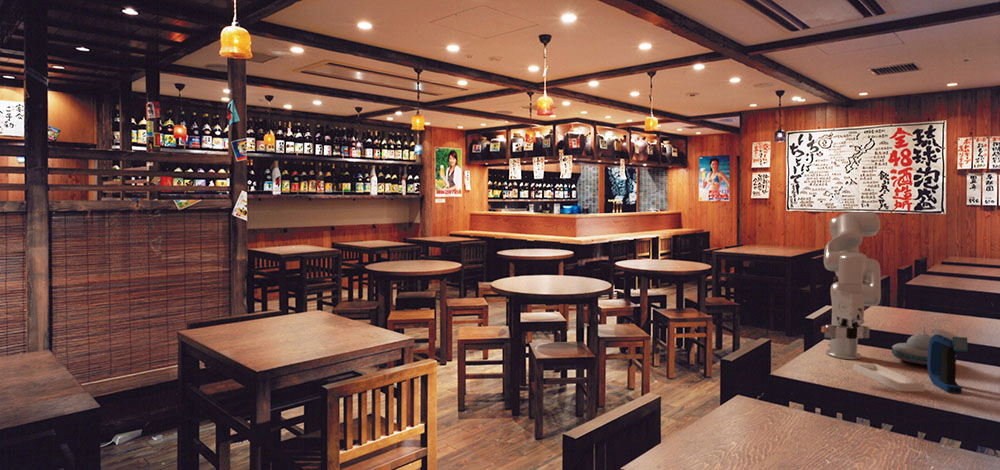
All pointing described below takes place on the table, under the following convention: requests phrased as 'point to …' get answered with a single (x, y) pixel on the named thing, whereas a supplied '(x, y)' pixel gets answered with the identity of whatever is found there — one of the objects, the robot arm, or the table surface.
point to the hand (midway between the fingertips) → (848, 336)
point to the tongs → (843, 331)
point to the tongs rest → (888, 377)
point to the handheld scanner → (944, 359)
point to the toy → (914, 349)
